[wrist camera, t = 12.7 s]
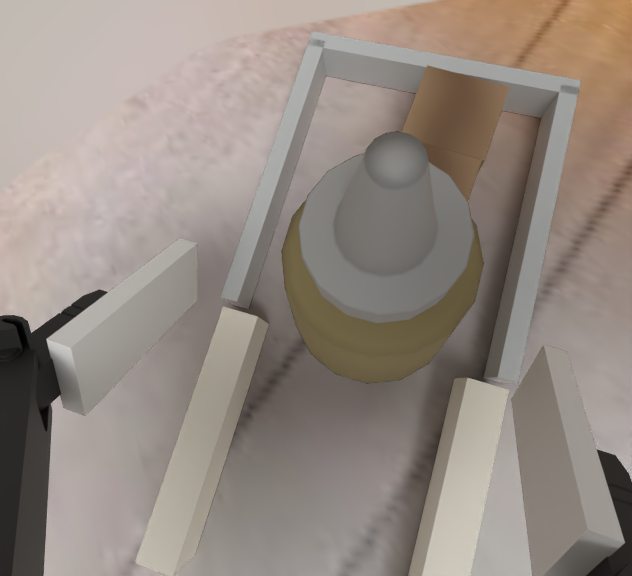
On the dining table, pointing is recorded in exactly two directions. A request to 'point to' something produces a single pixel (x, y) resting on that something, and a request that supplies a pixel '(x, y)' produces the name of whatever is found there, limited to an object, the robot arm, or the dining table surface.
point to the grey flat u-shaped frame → (406, 74)
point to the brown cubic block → (455, 167)
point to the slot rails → (217, 433)
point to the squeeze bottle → (381, 262)
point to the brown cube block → (456, 112)
